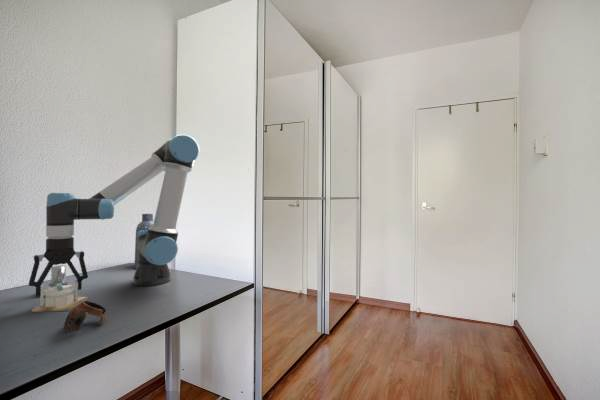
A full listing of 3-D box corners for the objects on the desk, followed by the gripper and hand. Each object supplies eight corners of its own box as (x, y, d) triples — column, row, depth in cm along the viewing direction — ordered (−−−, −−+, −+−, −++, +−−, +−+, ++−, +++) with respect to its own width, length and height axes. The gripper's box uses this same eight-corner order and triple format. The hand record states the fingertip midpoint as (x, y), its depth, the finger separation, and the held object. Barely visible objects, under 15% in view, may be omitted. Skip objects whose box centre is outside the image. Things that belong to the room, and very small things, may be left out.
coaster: (87, 298, 111) (87, 296, 111) (68, 310, 100) (68, 307, 100) (54, 300, 110) (54, 297, 110) (31, 311, 99) (31, 309, 99)
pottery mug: (68, 324, 91) (85, 297, 93) (98, 336, 92) (114, 309, 95) (47, 331, 80) (67, 300, 82) (82, 344, 81) (101, 314, 83)
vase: (134, 270, 152) (134, 215, 152) (134, 265, 163) (134, 213, 162) (161, 267, 158) (161, 214, 158) (158, 263, 169) (158, 213, 168)
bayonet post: (84, 286, 125) (83, 263, 125) (65, 296, 113) (65, 270, 113) (52, 287, 124) (52, 263, 123) (30, 297, 112) (30, 271, 111)
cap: (74, 303, 104) (74, 285, 104) (45, 308, 99) (45, 290, 99) (72, 297, 110) (72, 280, 110) (44, 302, 105) (44, 284, 105)
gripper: (95, 234, 114) (94, 293, 114) (18, 238, 100) (17, 306, 100) (98, 236, 109) (97, 298, 109) (17, 241, 94) (16, 312, 94)
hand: (59, 302), depth 104 cm, fingers open, 9 cm apart
